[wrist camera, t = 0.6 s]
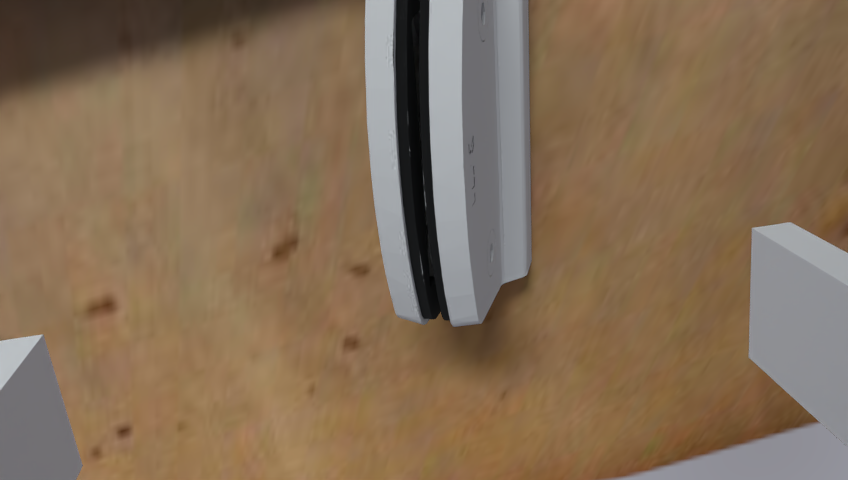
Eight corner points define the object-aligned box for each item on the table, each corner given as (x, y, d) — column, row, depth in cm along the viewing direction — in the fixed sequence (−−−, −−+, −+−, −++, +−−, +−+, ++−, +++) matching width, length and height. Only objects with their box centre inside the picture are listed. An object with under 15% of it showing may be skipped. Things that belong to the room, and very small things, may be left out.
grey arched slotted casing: (531, 267, 41) (498, 375, 32) (442, 263, 42) (387, 365, 34) (527, -80, 35) (484, -63, 26) (421, -74, 36) (345, -56, 27)
